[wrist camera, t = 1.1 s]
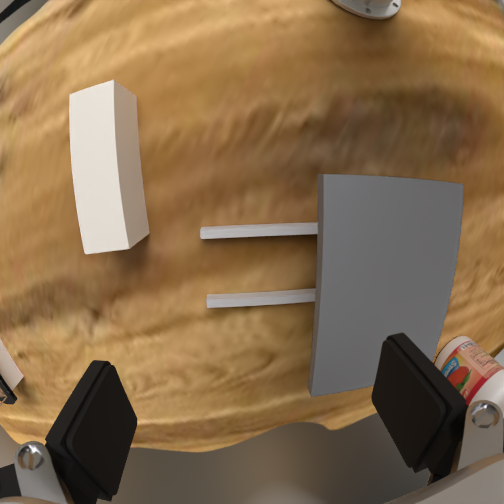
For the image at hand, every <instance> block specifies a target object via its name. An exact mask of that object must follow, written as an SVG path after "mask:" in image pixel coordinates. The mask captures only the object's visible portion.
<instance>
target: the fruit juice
mask: <svg viewBox="0 0 504 504" xmlns="http://www.w3.org/2000/svg"><path fill="white" fill-rule="evenodd" d="M434 365H435V366H436V367H437V368H438V369H439V370H440V371H441V372H442V374H443V375H444V376H445V377H446V378H447V379H448V380H449V381H450V382H451V383H452V385H453V386H454V387H455V388H456V389H457V390H458V391H459V392H460V393H461V395H462V396H463V397H464V398H465V399H466V400H467V402H466V404H467V405H468V406H470V405H471V404H472V403H474V402H475V401H479V400H488V401H491V402H493V403H495V404H497V405H498V406H499V407H500V409H501V410H502V412H503V418H504V367H502V366H501V365H500V364H499V363H498V362H497V361H496V360H495V359H494V358H492V357H491V356H490V355H489V354H488V353H487V352H486V351H484V350H483V349H482V348H481V347H480V346H479V345H477V344H476V343H475V342H474V341H473V340H472V339H470V338H469V337H467V336H458V337H456V338H454V339H453V340H451V341H450V342H449V343H448V344H447V345H446V346H445V347H444V348H443V349H442V351H441V352H440V353H439V355H438V357H437V359H436V361H435V364H434Z"/></svg>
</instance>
